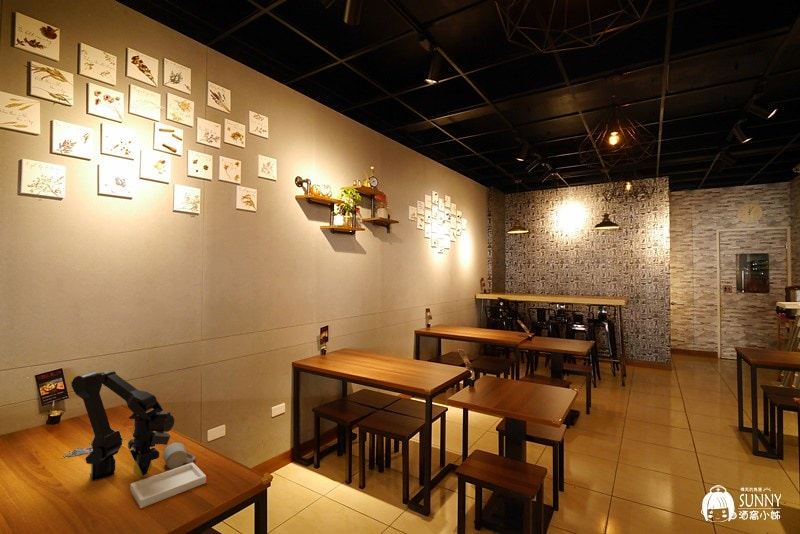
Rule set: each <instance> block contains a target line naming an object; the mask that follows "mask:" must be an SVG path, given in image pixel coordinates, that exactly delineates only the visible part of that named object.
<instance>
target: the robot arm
mask: <svg viewBox="0 0 800 534" xmlns="http://www.w3.org/2000/svg"><path fill="white" fill-rule="evenodd" d="M70 385H71V388H72V390H73V392H74V394H75V395H76V396H78V397H79V398H81V399H82V401H83V403H84V408H85V409H86V412H87V413H86V414H87V415H88V420H89V423H90V426H91V428H92V429H93V432H94V439H93V443H92V449H93V451H92V452H91V453H88V454H87V456H86V457H85V459H84V460H85V462H86V464H89V465H90V467H91V468H90V473H89V476H90V479H91V481H92V482H94V481H98V480H102V479H104V478H107V477H110V476H113V475H115V471H116V459H115V457H114V456H116V455H117V454H118V453H119V450H120V449H121V448H122V446H123V441H122V440H123V439H122V438H121V435H120V431H119V430H118V431H116V432H115V431H114V430H112V429H111V427H110V425H111V424H110V422H109V418H108V415H107V412H106V408H105V405H104V403H103V399H102V398H101V393H100V392H101V391H102V390H101V389H102V387H103V386H105V387H106V388H107V389H109V390H110V391H112V392H113V393H115V394H116V395H117V396H119V397H120V398H121V399H123V400H124V401H125V402H126V404H127V409H129V410H130V411H131V412H132V415H130V416H129V417H128V420H134V424H133V426H134V432H133V434H132V439H130V440H129V441H128V442H127V448H128V450H129V453H130V454H131V456H132V459H133V461H134V463H135V462H137V464H138V466H139V468H140V470H141V473H142V475H145V476H147V475H148V474H147V471H148V468H149V465H150V462H152V461H154V460H157V459H159V458H160V451H159V449H157V448H155V447H156V445H163V446H167V445H168V443H169V441H170V439H171V434H169V433H168V432H171V430H172V429H173V427H174V424H175V418H174V416H173V415H172V414H171V413H172V412H170V411H166V412H165V411H164V409H163V407H162V406H161V405H160V403H159V402H158V400H157V397H156V396H155V395H154V394H153V393H151V392H148V391H144V390H139V389H138V388H136V387H135V386H133V385H132V384H130V383H129V382H128V381H127V380H125V379H123V378H122V377H121V376H120V375H118V374H117V373H116V371H114V370H107V371H102V372H96V371H91V372H87V373H85V374H80V375H76V376H75V377H73V379H72V381H71V384H70ZM163 411H164V412H163ZM146 474H147V475H146Z"/></svg>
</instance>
